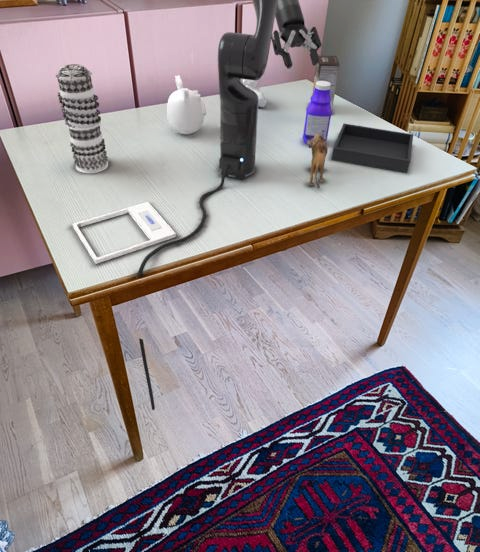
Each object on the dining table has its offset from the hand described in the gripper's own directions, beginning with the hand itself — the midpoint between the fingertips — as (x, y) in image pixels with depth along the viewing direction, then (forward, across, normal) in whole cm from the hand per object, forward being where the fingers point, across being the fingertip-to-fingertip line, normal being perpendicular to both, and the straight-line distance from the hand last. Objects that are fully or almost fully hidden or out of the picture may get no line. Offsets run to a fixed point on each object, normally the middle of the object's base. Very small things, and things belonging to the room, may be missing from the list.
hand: (303, 65), depth 132 cm
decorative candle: (+14, -63, +12) cm, 66 cm away
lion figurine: (+33, -10, -6) cm, 35 cm away
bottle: (+21, 0, +6) cm, 22 cm away
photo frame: (+37, -63, -11) cm, 74 cm away
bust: (-2, -5, +29) cm, 30 cm away
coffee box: (+6, +16, +21) cm, 27 cm away
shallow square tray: (+29, +12, -3) cm, 32 cm away
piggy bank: (+6, -33, +20) cm, 39 cm away
